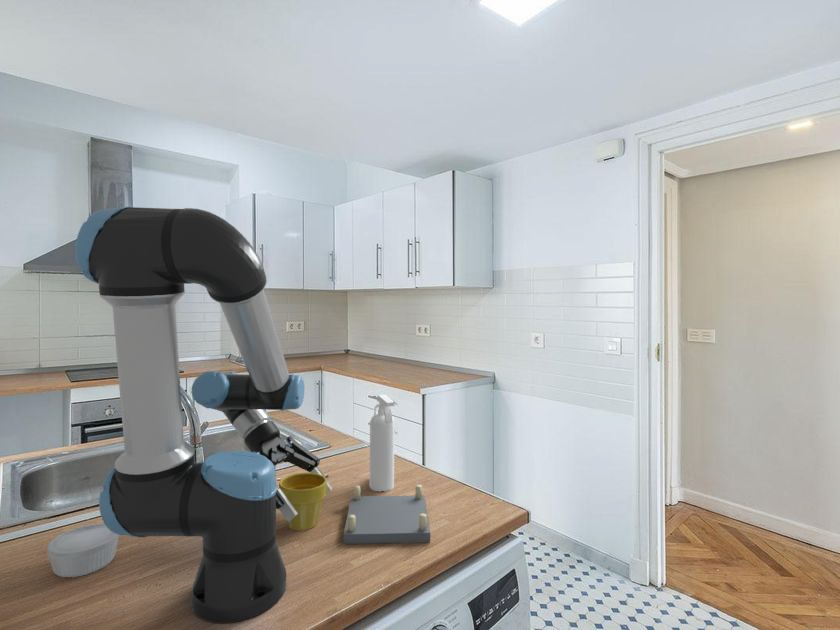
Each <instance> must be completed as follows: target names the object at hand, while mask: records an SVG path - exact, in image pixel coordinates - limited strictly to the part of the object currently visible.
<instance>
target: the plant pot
mask: <svg viewBox="0 0 840 630" xmlns="http://www.w3.org/2000/svg"><path fill="white" fill-rule="evenodd" d="M327 482H328V481H327V478H326V476H325V475H324V476H322V475H320V474H316V473H310V472H300V473H294V474H290V475H287V476H285V477H283V478H282V479H280V481H279V482H278V489H281V491H282V492H283V494H284V495H285V496H286V498H287V499H288V501H289V502H290V503H291V505H292V506H293V508H294V509H295V510H296V512H297V513H298V514H297V515H296V516H295V517H294V518H293V519H292V520H291V521H289V522H287V520H286V519H285V522H286V526H287V527H288V529H290V530H292V531H298V532H299V531H306V530H307V531H308V530H310V529H313V528H314V527H315V526H317V524H318V522H319V517H320V513H321V507H322V503H323V499H324V498H325V497H326V496H327V495H326V488H327ZM325 495H326V496H325Z"/></svg>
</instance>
